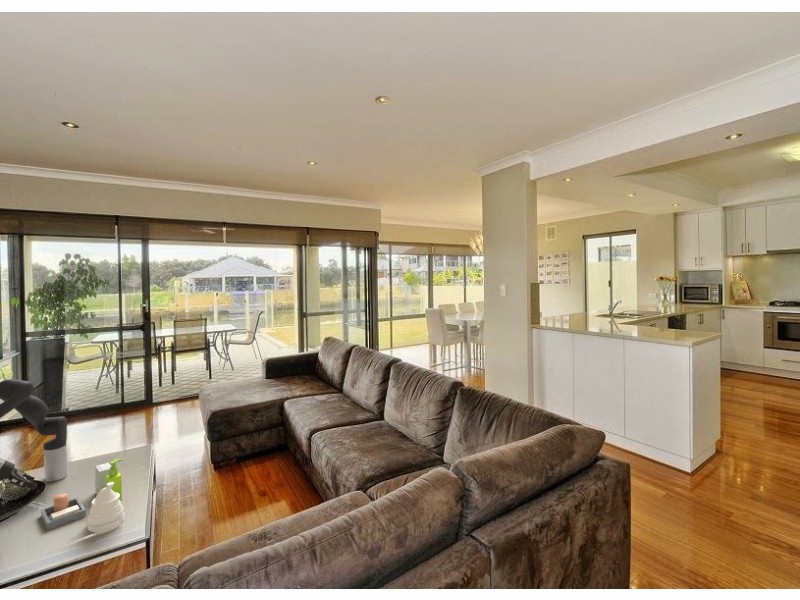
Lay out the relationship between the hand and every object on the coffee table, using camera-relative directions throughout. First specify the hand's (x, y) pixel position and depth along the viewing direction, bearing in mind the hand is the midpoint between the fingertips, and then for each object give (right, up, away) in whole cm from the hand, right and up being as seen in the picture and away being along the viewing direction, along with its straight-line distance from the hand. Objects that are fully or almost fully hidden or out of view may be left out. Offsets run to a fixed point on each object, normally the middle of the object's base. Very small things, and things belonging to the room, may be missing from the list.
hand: (34, 483), depth 169 cm
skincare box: (+13, -17, +23) cm, 32 cm away
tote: (+8, -18, +5) cm, 21 cm away
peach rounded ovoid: (+6, -17, +7) cm, 19 cm away
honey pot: (+31, -19, +1) cm, 36 cm away
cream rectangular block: (+12, -17, +2) cm, 21 cm away
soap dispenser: (+22, -18, +19) cm, 34 cm away
